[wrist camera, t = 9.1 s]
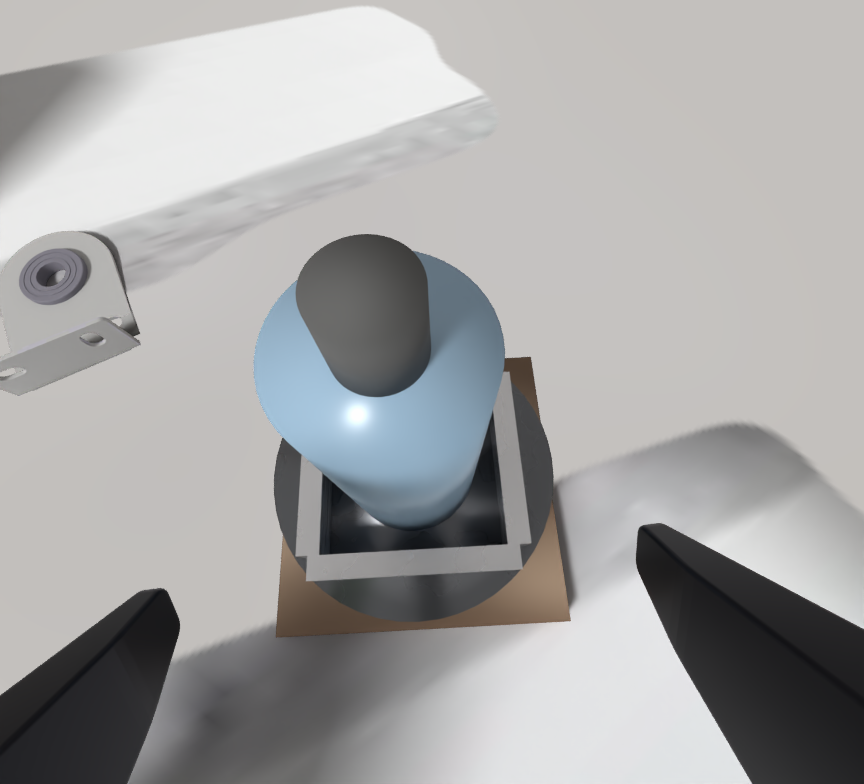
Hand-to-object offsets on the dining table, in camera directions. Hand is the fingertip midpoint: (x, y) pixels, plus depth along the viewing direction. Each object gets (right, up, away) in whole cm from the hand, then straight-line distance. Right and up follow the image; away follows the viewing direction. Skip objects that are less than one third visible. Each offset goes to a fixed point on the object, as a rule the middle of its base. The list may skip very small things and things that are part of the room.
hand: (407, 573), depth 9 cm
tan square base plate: (0, -1, +13) cm, 13 cm away
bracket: (-21, +8, +18) cm, 28 cm away
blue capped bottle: (0, 0, +9) cm, 9 cm away
